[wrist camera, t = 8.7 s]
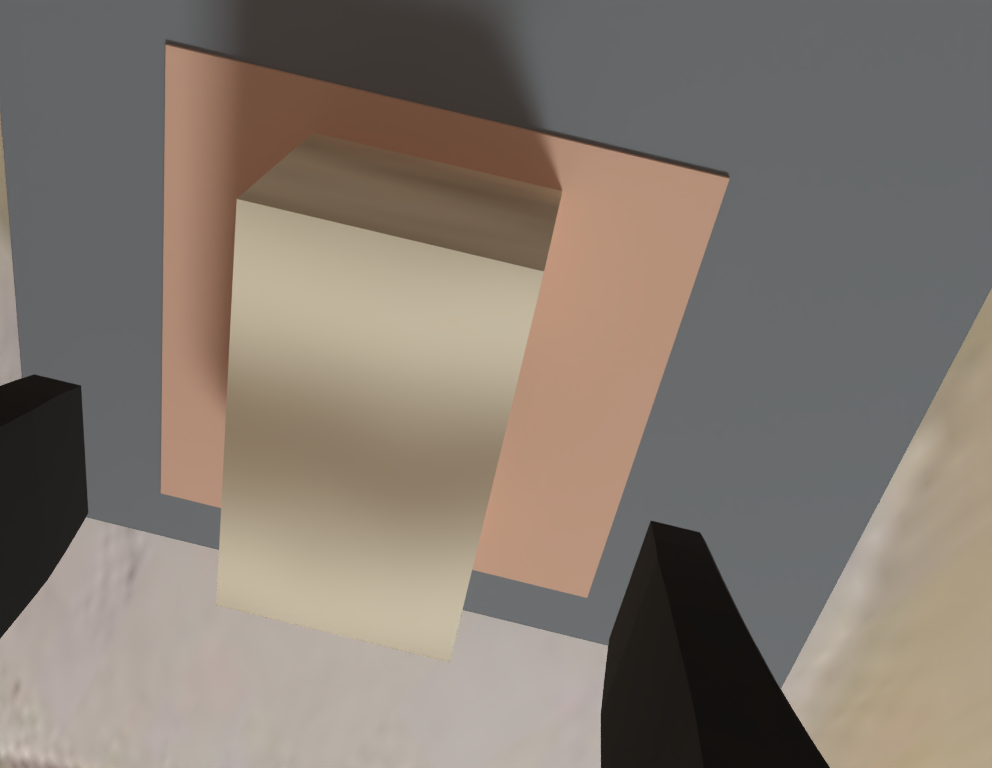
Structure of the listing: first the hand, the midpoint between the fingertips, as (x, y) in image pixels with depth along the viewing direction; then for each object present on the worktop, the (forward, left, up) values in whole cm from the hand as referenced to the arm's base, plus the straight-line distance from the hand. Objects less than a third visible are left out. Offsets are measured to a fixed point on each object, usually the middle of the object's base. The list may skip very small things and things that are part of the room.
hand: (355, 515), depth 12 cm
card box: (+1, +3, -9) cm, 9 cm away
